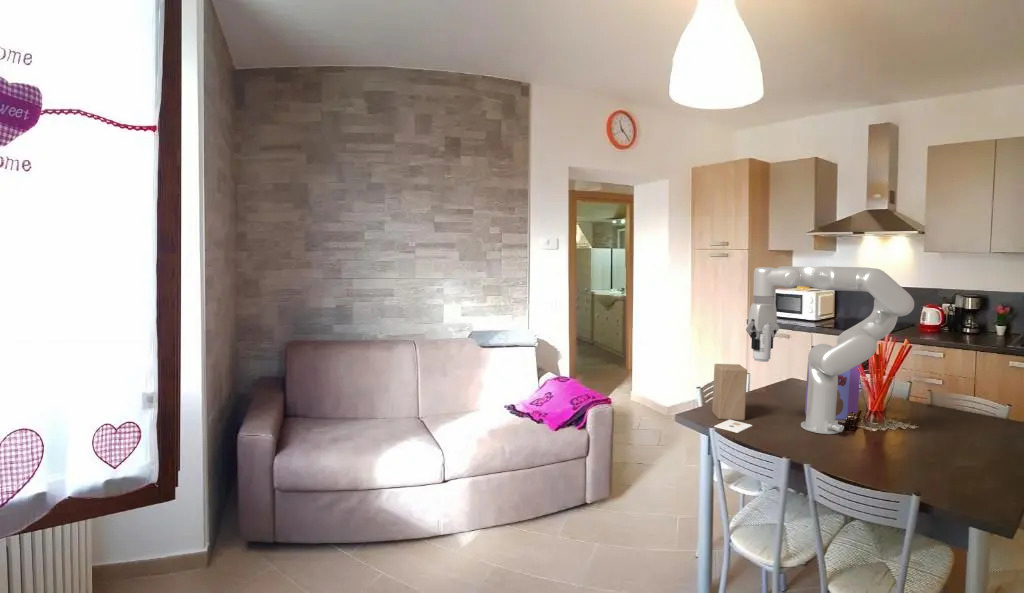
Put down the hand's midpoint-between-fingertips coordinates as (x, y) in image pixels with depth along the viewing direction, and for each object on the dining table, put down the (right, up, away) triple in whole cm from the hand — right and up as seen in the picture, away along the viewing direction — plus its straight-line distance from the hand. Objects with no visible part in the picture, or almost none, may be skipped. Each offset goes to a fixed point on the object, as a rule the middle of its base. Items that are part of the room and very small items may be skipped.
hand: (762, 348), depth 213 cm
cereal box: (+33, -29, +13) cm, 46 cm away
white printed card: (-11, -29, 0) cm, 31 cm away
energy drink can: (0, -5, +1) cm, 5 cm away
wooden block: (-8, -28, +13) cm, 32 cm away
